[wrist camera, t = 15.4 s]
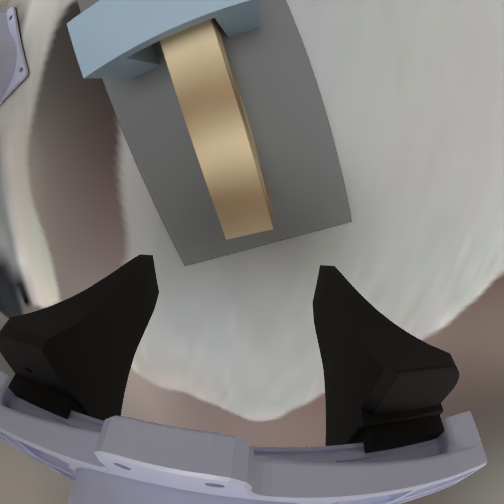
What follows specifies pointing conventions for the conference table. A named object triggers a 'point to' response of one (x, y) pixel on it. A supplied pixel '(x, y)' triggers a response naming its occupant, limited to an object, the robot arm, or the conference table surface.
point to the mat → (264, 133)
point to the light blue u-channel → (146, 31)
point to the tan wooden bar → (219, 128)
